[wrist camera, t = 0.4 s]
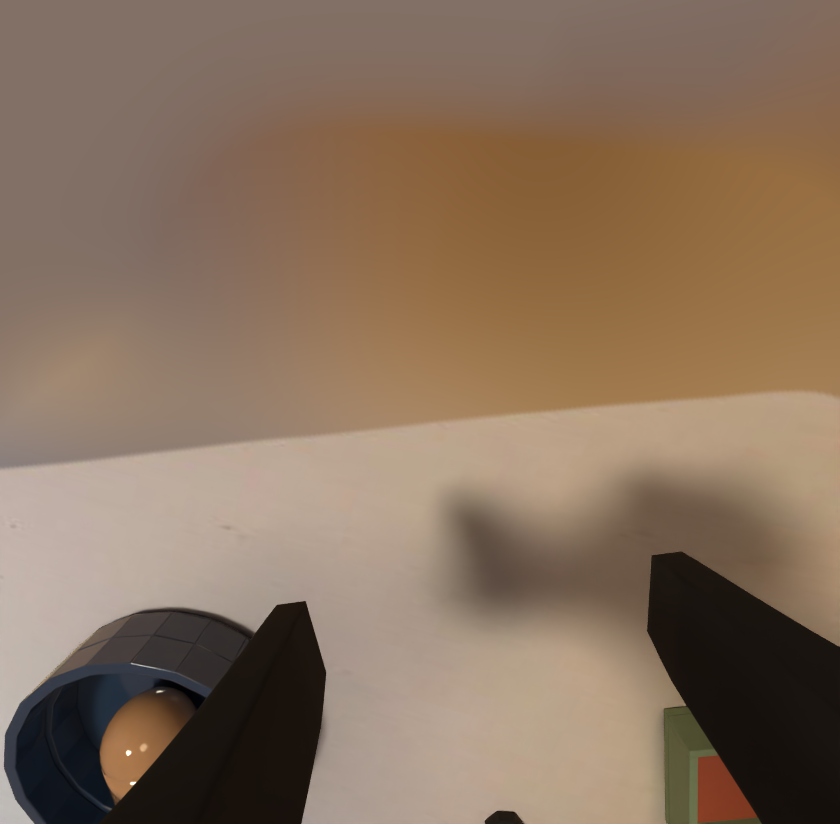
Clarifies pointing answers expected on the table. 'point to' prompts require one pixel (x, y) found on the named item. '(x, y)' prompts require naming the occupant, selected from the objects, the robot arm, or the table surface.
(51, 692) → the basin
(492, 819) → the chess pawn
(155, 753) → the egg
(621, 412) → the table surface
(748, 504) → the table surface
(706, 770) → the green square tray
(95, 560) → the table surface
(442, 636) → the table surface
